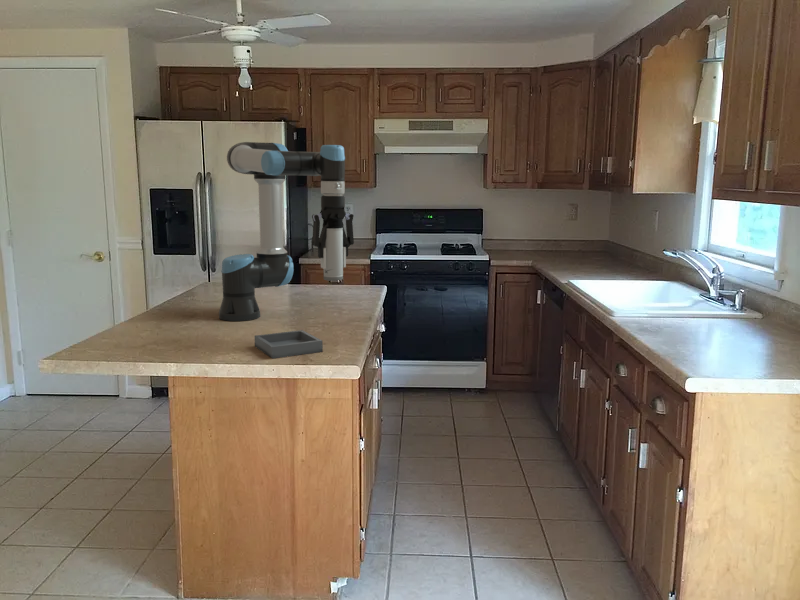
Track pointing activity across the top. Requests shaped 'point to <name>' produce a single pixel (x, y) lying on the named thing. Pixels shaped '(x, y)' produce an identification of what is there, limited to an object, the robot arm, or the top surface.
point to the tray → (288, 344)
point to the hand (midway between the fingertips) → (333, 267)
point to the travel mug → (334, 250)
